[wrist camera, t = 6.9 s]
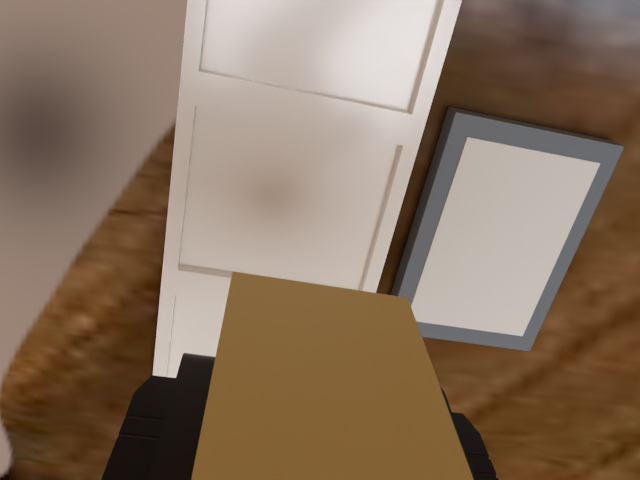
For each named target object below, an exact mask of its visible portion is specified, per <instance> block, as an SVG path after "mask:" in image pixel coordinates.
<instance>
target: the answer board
mask: <svg viewBox="0 0 640 480" xmlns="http://www.w3.org/2000/svg"><path fill="white" fill-rule="evenodd" d="M623 149H624V146H622V145H620V144H618V143H615V142H613V141H611V140H608V139H603V138H598V137H593V136H589V135H584V134H579V133H574V132H569V131H564V130H559V129H555V128H550V127H545V126H540V125H535V124H530V123H526V122H521V121H516V120H511V119H506V118H501V117H496V116H492V115H487V114H482V113H477V112H472V111H467V110H462V109H458V108H453V107H448V110H447V113H446V116H445V119H444V123H443V126H442V129H441V132H440V136H439V139H438V142H437V145H436V148H435V152H434V155H433V158H432V161H431V165H430V168H429V171H428V174H427V178H426V181H425V184H424V187H423V191H422V194H421V197H420V200H419V204H418V207H417V210H416V213H415V216H414V220H413V223H412V226H411V229H410V233H409V236H408V239H407V242H406V246H405V249H404V252H403V255H402V259H401V262H400V265H399V268H398V272H397V275H396V278H395V281H394V284H393V288H392V291H391V294H390V295H392V296H399V297H405V298H408V300H409V303H410V306H411V309H412V311H413V314H414V317H415V320H416V322H417V325H418V328H419V331H420V333H421V336H422V337H429V338H436V339H443V340H451V341H458V342H465V343H473V344H480V345H488V346H495V347H502V348H510V349H517V350H524V351H530V349H531V347H532V345H533V343H534V340H535V338H536V336H537V334H538V332H539V330H540V327H541V325H542V323H543V321H544V319H545V317H546V315H547V312H548V310H549V308H550V306H551V304H552V302H553V299H554V297H555V295H556V293H557V291H558V289H559V287H560V284H561V282H562V280H563V278H564V276H565V274H566V271H567V269H568V267H569V265H570V263H571V261H572V259H573V256H574V254H575V252H576V250H577V248H578V246H579V243H580V241H581V239H582V237H583V235H584V233H585V230H586V228H587V226H588V224H589V222H590V220H591V218H592V215H593V213H594V211H595V209H596V207H597V205H598V202H599V200H600V198H601V196H602V194H603V192H604V190H605V187H606V185H607V183H608V181H609V179H610V177H611V174H612V172H613V170H614V168H615V166H616V164H617V162H618V159H619V157H620V155H621V153H622V151H623Z"/></svg>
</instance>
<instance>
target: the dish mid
mask: <svg viewBox="0 0 640 480" xmlns="http://www.w3.org/2000/svg"><path fill="white" fill-rule="evenodd" d="M422 135H423V133H418V132H413V131H408V130H403V129H398V128H393V127H388V126H383V125H378V124H373V123H368V122H362V121H357V120H352V119H347V118H342V117H337V116H332V115H327V114H322V113H317V112H312V111H306V110H301V109H296V108H291V107H286V106H281V105H276V104H271V103H266V102H261V101H256V100H251V99H245V98H240V97H235V96H230V95H225V94H220V93H215V92H210V91H205V90H200V89H195V88H190V87H184V86H179V96H178V107H177V117H176V128H175V139H174V150H173V160H172V171H171V182H170V193H169V204H168V214H167V225H166V236H165V247H164V257H163V268H162V279H161V281H168V282H175V283H182V284H189V285H196V286H203V287H210V288H217V289H224V290H229V287H230V282H231V277H232V272H240V273H247V274H253V275H260V276H266V277H273V278H280V279H286V280H293V281H299V282H306V283H313V284H319V285H326V286H333V287H339V288H346V289H352V290H359V291H366V292H372V293H376V291H377V287H378V284H379V280H380V277H381V274H382V270H383V267H384V263H385V260H386V257H387V253H388V250H389V247H390V243H391V240H392V236H393V233H394V230H395V226H396V223H397V219H398V216H399V213H400V209H401V206H402V202H403V199H404V196H405V192H406V189H407V185H408V182H409V179H410V175H411V172H412V169H413V165H414V162H415V158H416V155H417V152H418V148H419V145H420V141H421V138H422Z"/></svg>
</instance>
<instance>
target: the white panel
mask: <svg viewBox="0 0 640 480" xmlns="http://www.w3.org/2000/svg"><path fill="white" fill-rule="evenodd" d="M228 292H229V290H224V289H217V288H210V287H203V286H196V285H189V284H182V283H175V282H168V281H161V290H160V300H159V311H158V322H157V333H156V344H155V354H154V365H153V375H154V376H162V377H170V378H176V376H177V373H178V369H179V366H180V362H181V359H182V356H183V353H189V354H197V355H205V356H213V357H216V352H217V347H218V342H219V337H220V332H221V327H222V322H223V317H224V312H225V307H226V302H227V297H228Z"/></svg>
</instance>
